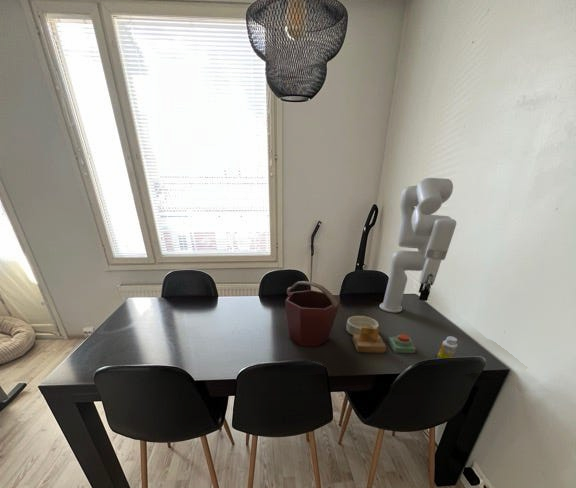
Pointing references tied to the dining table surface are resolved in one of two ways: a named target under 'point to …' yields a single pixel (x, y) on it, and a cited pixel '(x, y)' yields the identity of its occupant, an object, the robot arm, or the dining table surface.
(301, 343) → the bucket
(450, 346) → the supplement bottle
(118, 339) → the dining table surface
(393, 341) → the button block
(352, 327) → the basin
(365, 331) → the tap lever
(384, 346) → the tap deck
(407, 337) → the button
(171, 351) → the dining table surface
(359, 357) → the dining table surface
